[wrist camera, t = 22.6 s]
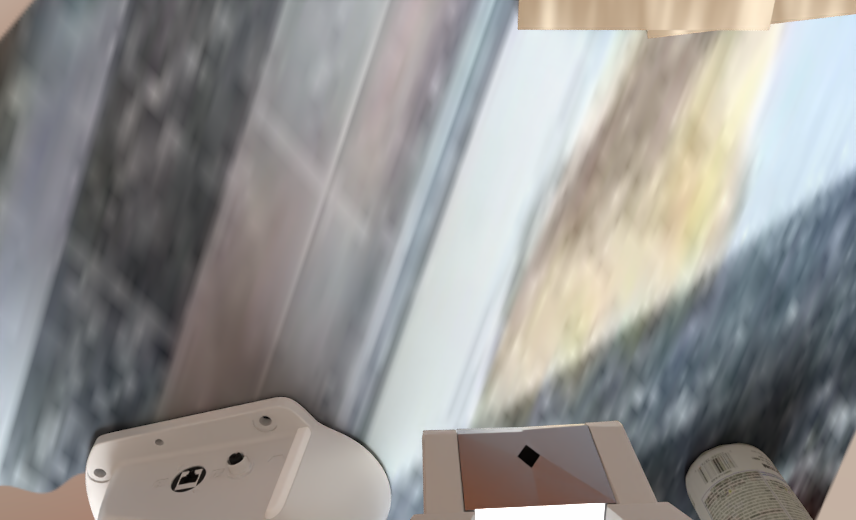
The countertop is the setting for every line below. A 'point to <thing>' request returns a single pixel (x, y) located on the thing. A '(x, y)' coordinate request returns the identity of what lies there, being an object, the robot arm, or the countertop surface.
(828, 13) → the domino
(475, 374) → the countertop surface
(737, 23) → the domino
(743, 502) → the spray can
